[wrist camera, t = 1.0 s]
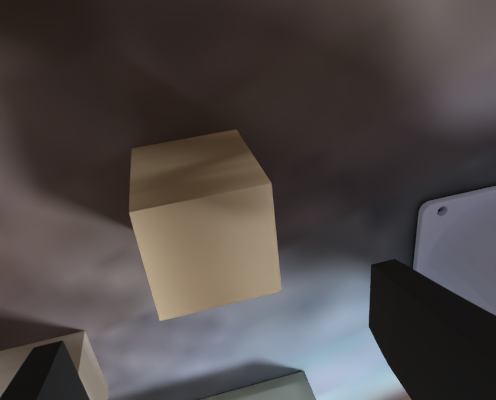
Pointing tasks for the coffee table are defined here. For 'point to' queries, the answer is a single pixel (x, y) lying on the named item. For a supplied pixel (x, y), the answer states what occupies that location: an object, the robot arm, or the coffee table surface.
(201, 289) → the part oak
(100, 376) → the part birch
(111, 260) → the coffee table surface
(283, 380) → the tray
